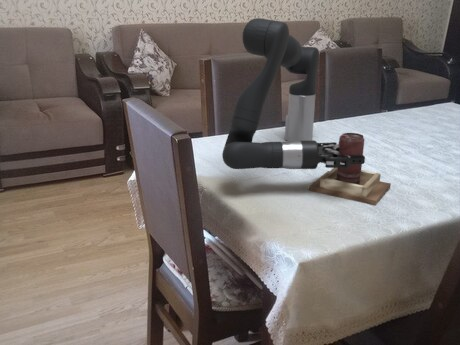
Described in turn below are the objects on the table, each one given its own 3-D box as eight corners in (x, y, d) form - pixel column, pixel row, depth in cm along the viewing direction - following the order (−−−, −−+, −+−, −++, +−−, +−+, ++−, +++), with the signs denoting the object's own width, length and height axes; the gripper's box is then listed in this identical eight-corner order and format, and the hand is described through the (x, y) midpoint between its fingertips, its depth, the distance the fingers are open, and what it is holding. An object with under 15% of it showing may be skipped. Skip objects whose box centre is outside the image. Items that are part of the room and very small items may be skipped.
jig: (308, 190, 122) (309, 177, 121) (327, 174, 133) (328, 162, 132) (375, 205, 113) (377, 191, 112) (390, 187, 124) (391, 174, 123)
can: (332, 181, 125) (336, 132, 120) (354, 180, 125) (360, 131, 120) (339, 189, 119) (343, 138, 114) (362, 189, 120) (368, 138, 115)
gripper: (304, 149, 111) (369, 148, 112) (294, 133, 125) (352, 133, 125) (302, 177, 114) (366, 177, 114) (293, 159, 127) (350, 159, 128)
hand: (359, 154), depth 120 cm, fingers open, 8 cm apart
